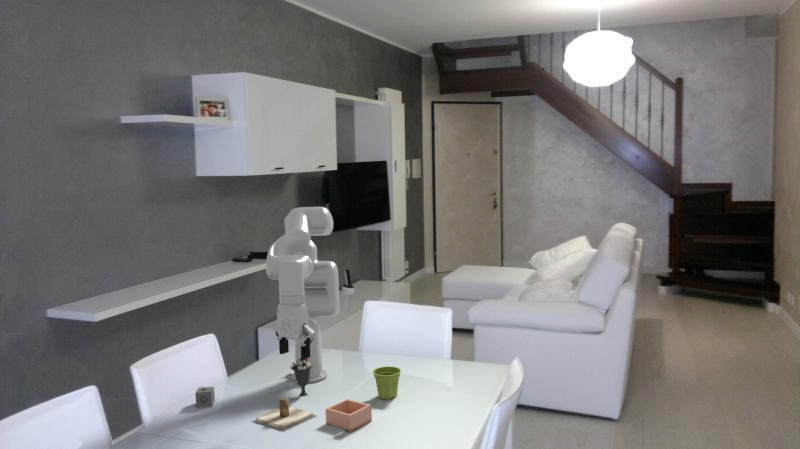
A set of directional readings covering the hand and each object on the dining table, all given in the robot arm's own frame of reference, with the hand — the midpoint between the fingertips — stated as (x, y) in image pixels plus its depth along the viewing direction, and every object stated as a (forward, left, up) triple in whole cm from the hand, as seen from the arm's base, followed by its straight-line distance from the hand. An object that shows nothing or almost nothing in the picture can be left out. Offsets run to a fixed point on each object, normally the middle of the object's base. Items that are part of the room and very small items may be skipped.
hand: (294, 355), depth 197 cm
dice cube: (-35, -7, -20) cm, 41 cm away
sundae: (-13, +15, -20) cm, 28 cm away
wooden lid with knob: (-3, -3, -19) cm, 20 cm away
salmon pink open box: (+15, +6, -20) cm, 26 cm away
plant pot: (+11, +30, -20) cm, 38 cm away
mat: (-3, -3, -20) cm, 20 cm away
